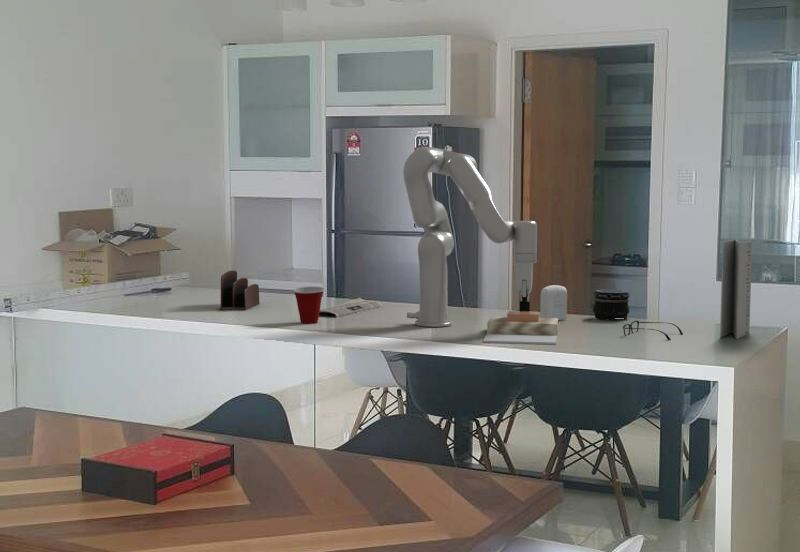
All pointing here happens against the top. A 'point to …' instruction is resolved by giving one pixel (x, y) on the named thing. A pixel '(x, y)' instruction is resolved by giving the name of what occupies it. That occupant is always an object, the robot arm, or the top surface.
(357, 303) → the newspaper
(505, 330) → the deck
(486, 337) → the mat
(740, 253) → the brochure
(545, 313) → the photo printer
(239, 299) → the letter holder
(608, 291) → the container
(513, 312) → the tile
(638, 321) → the eyeglasses
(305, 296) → the plastic cup
